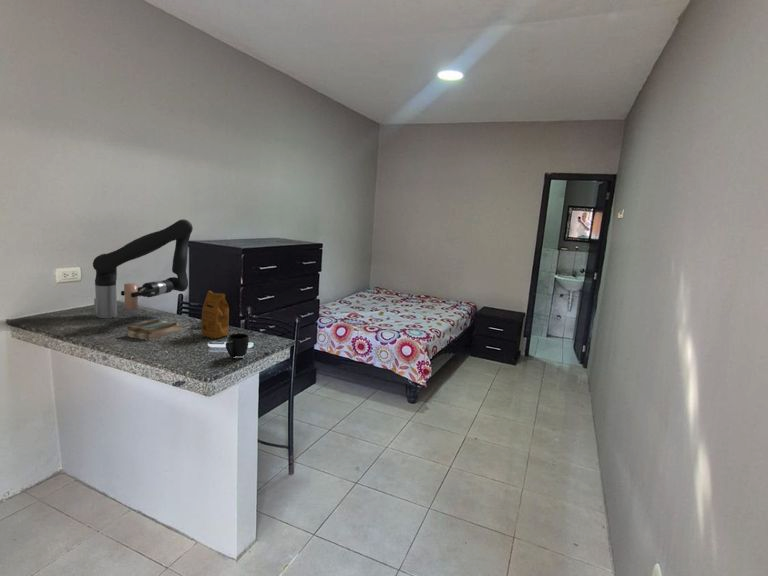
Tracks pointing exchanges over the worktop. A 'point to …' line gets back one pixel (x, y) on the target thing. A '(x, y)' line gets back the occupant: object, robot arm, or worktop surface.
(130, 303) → the canister
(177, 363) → the worktop surface
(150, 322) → the wooden tray
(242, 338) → the mug
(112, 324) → the worktop surface
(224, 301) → the coffee package
